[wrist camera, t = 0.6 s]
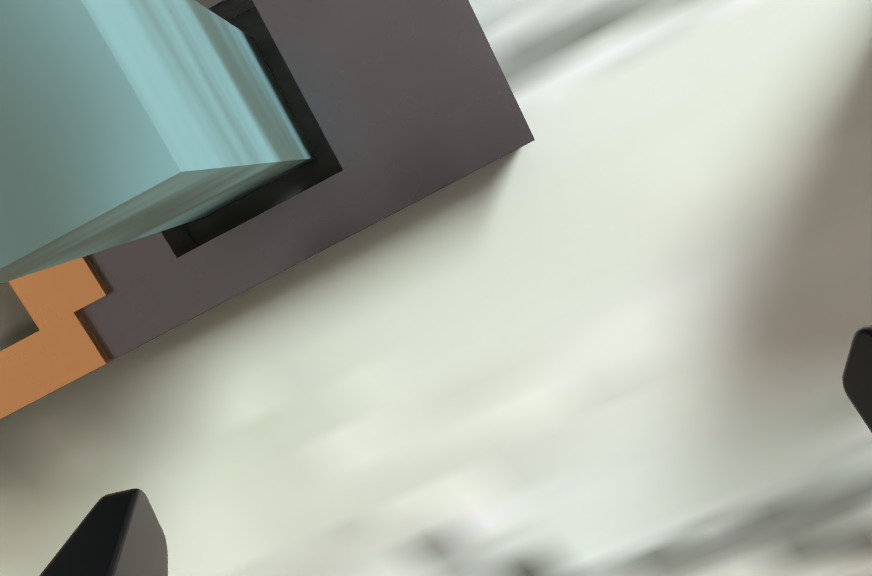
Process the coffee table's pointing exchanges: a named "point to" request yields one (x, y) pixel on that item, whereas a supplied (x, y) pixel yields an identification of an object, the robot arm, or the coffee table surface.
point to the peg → (128, 124)
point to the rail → (305, 212)
